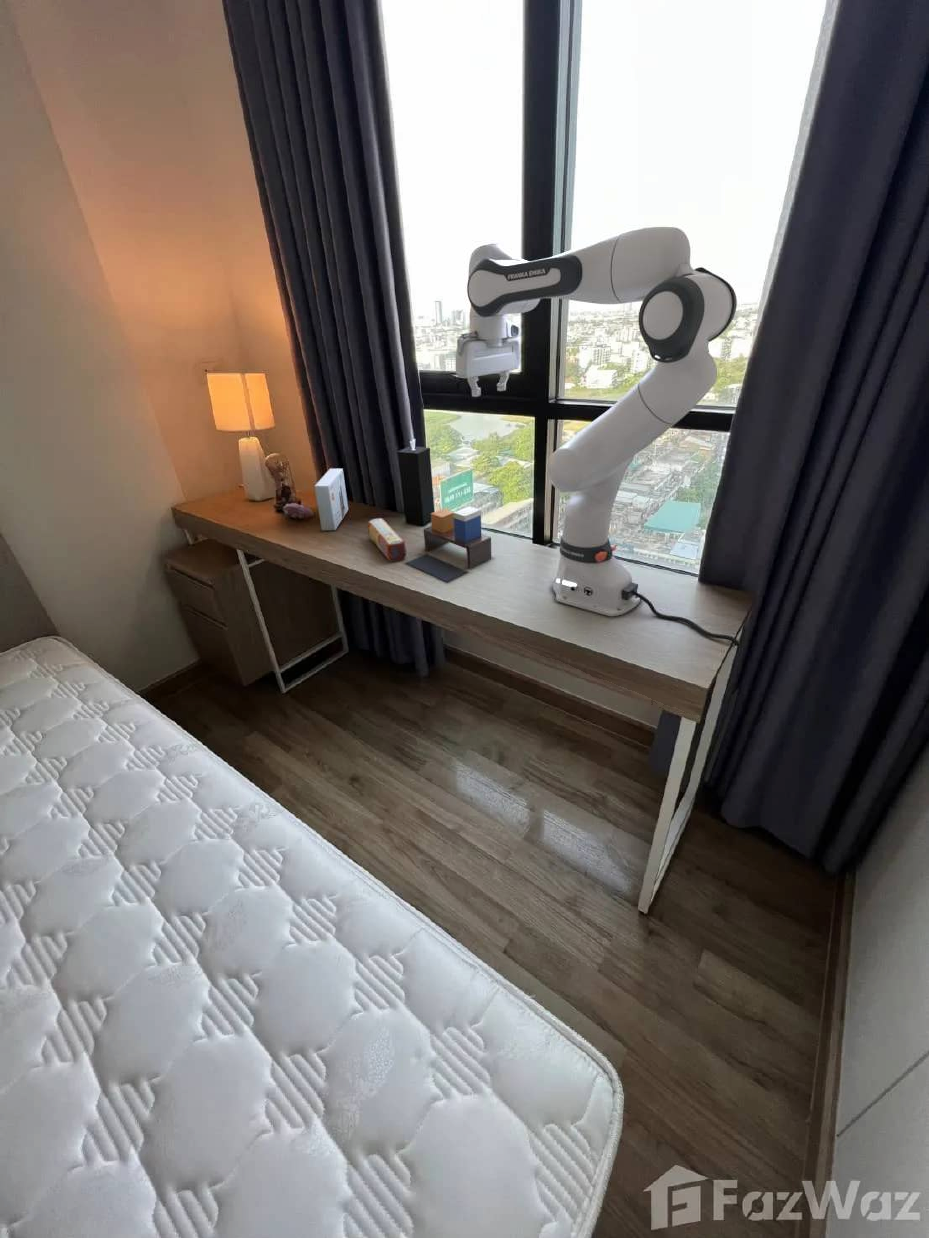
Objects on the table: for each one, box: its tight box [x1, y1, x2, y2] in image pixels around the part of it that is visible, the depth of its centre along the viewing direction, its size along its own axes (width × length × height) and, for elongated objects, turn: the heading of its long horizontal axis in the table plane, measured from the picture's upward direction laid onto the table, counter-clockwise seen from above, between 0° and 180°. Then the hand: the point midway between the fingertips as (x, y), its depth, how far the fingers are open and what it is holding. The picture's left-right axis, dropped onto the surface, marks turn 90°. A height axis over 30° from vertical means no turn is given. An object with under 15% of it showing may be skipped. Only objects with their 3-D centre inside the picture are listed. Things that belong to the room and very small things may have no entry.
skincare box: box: [314, 468, 349, 531], centre depth 177 cm, size 21×5×16 cm, turn 179°
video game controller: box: [282, 502, 314, 519], centre depth 183 cm, size 10×5×7 cm, turn 73°
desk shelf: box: [422, 525, 492, 570], centre depth 150 cm, size 20×9×7 cm, turn 44°
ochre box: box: [430, 508, 454, 533], centre depth 150 cm, size 5×6×5 cm
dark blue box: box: [453, 505, 482, 543], centre depth 143 cm, size 5×6×8 cm
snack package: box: [366, 518, 407, 563], centre depth 156 cm, size 21×7×7 cm, turn 26°
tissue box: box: [396, 438, 436, 527], centre depth 169 cm, size 8×8×28 cm
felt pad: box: [406, 553, 469, 583], centre depth 145 cm, size 18×8×1 cm, turn 44°
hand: (489, 393), depth 125 cm, fingers open, 8 cm apart
